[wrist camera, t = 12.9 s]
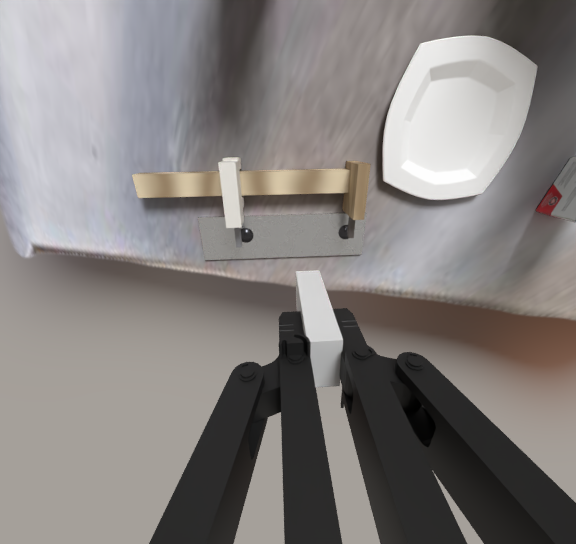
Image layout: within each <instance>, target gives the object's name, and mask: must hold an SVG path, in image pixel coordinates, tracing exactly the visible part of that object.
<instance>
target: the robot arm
mask: <svg viewBox="0 0 576 544" xmlns="http://www.w3.org/2000/svg"><path fill="white" fill-rule="evenodd" d="M296 308H297V312H283V313H282V314H281V316H280V317H279V356H278V358H277V359H276V360H275V361H274V362H272V363H270V364H268V365H265V366H262V367H261V366H260V365H259V364H258V363H254V362H245V363H242V364H240V365H238V366H237V367H235V369H234V370H233V371H232V373H231V375H230V377H229V379H228V381H227V383H226V386H225V387H224V390H223V392H222V394H221V396H220V398H219V400H218V402H217V404H216V406H215V408H214V410H213V413H212V414H211V416H210V419H209V421H208V423H207V425H206V427H205V429H204V431H203V433H202V435H201V437H200V439H199V441H198V444H197V446H196V448H195V450H194V452H193V454H192V456H191V458H190V460H189V462H188V464H187V466H186V468H185V470H184V472H183V474H182V477H181V479H180V481H179V483H178V485H177V487H176V489H175V491H174V493H173V495H172V497H171V500H170V501H169V504H168V506H167V508H166V510H165V512H164V514H163V516H162V518H161V520H160V522H159V524H158V526H157V528H156V530H155V533H154V535H153V537H152V539H151V541H150V543H149V544H233V543H234V539H235V535H236V531H237V528H238V525H239V521H240V517H241V513H242V510H243V506H244V503H245V499H246V496H247V492H248V488H249V484H250V481H251V477H252V473H253V470H254V466H255V463H256V459H257V456H258V452H259V448H260V445H261V441H262V437H263V434H264V430H265V426H266V423H267V419H268V417H269V416H272V415H274V414H277V413H279V412H281V426H282V462H283V493H284V494H283V497H284V533H285V544H342V540H341V534H340V528H339V522H338V516H337V510H336V505H335V499H334V493H333V487H332V481H331V475H330V469H329V463H328V458H327V451H326V446H325V440H324V434H323V428H322V422H321V416H320V410H319V405H318V399H317V393H316V387H329V386H339V385H340V380H341V383H342V397H341V408H343V407H344V406H345V410H346V413H347V417H348V421H349V425H350V429H351V432H352V436H353V440H354V444H355V448H356V451H357V455H358V459H359V463H360V467H361V471H362V475H363V478H364V482H365V486H366V490H367V494H368V497H369V501H370V505H371V509H372V512H373V516H374V520H375V524H376V528H377V532H378V535H379V539H380V543H381V544H467V542H466V540H465V538H464V536H463V534H462V532H461V530H460V528H459V526H458V524H457V522H456V519H455V517H454V515H453V513H452V511H451V509H450V507H449V505H448V503H447V500H446V498H445V496H444V494H443V492H442V490H441V488H440V486H439V484H438V482H437V479H436V477H435V476H434V473H435V474H436V476H437V477H438V479H439V480H440V481H441V483H442V484H443V486H444V487H445V489H446V490H447V491H448V493H449V494H450V496H451V497H452V499H453V500H454V501H455V503H456V504H457V506H458V507H459V508H460V510H461V511H462V513H463V514H464V515H465V517H466V518H467V520H468V521H469V522H470V524H471V526H472V527H473V528H474V530H475V531H476V533H477V534H478V536H479V537H480V538H481V540H482V541H483V543H484V544H576V503H575V502H574V501H573V500H572V499H571V498H570V497H569V496H568V495H567V494H566V493H565V492H564V491H563V490H562V489H561V488H560V487H559V486H558V485H557V484H556V483H555V482H553V480H552V479H550V478H549V477H548V476H547V475H546V474H545V473H544V472H543V471H542V470H541V469H540V468H539V467H538V466H537V465H536V464H535V463H534V462H533V461H532V460H531V459H530V458H529V457H528V456H527V455H526V454H525V453H523V451H521V450H520V449H519V448H518V447H517V446H516V445H515V444H514V443H513V442H512V441H511V440H510V439H509V438H508V437H507V436H506V435H505V434H504V433H503V432H502V431H501V430H500V429H499V428H498V427H497V426H495V425H494V424H493V423H492V422H491V421H490V420H489V419H488V418H487V417H486V416H485V415H484V414H483V413H482V412H481V411H480V410H479V409H478V408H477V407H476V406H475V405H474V404H473V403H472V402H471V401H470V400H469V399H468V398H467V397H465V396H464V395H463V394H462V393H461V392H460V391H459V390H458V389H457V388H456V387H455V386H454V385H453V384H452V383H451V382H450V381H449V380H448V379H447V378H446V377H445V376H444V375H442V374H441V372H440V371H439V370H437V369H436V368H435V367H434V366H433V365H432V364H431V363H430V362H429V361H428V360H427V359H425V358H424V357H423V356H421V355H419V354H416V353H412V352H405V353H402V354H400V355H399V356H398V358H397V359H392V358H387V357H383V356H380V355H377V354H376V352H375V351H374V350H373V349H372V348H371V347H369V346H368V345H367V344H366V342H365V339H364V337H363V335H362V333H361V331H360V329H359V327H358V324H357V322H356V320H355V317H354V315H353V313H351V312H350V311H349V310H348V309H347V308H343V309H332V306H331V303H330V300H329V298H328V295H327V292H326V289H325V286H324V283H323V280H322V277H321V274H320V271H319V270H316V271H296ZM432 470H433V471H434V473H433V472H432Z"/></svg>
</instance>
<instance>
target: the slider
mask: <svg viewBox="0 0 576 544" xmlns="http://www.w3.org/2000/svg"><path fill="white" fill-rule="evenodd" d="M218 164H219V172H220V180H221V189H222V197H223V205H224V213H225V221H226V228H234V231H235V240H236V248H237V247H242V238H241V228H242V225H243V222H244V215H243V208H244V196H242V193H241V182H240V171H239V170H240V169H241V159H240V157H229V158H223V161H222V162H219V163H218Z"/></svg>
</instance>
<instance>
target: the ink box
mask: <svg viewBox="0 0 576 544" xmlns="http://www.w3.org/2000/svg"><path fill="white" fill-rule="evenodd" d="M536 212H539V213H543V214H546V215H549V216H553V217H557V218H560V219H564V220H568V221H572V222H576V157H571V158H570V159H569V161H568V162H567V164H566V165H565V167H564V168H563V170H562V171H561V173H560V174H559V176H558V177H557V179H556V180H555V182H554V183H553V185H552V186H551V188H550V189H549V191H548V192H547V194H546V195H545V197H544V198H543V200H542V201H541V203H540V204H539V206H538V207H537V209H536Z"/></svg>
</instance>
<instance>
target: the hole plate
mask: <svg viewBox="0 0 576 544" xmlns="http://www.w3.org/2000/svg"><path fill="white" fill-rule="evenodd" d="M348 220H349V216H348V215H347V214H346V213H327V214H291V215H256V216H244V222H243V225H242V228H241V238H242V247H237V248H236V240H235V231H234V228H226V221H225V216H220V217H198V222H199V228H200V234H201V240H202V246H203V251H204V257H205V260H221V259H249V258H277V257H306V256H334V255H362V247H363V239H364V230H365V222H366V212H365V216H364V220H355V230H354V238H348V237H347V231H348Z"/></svg>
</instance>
